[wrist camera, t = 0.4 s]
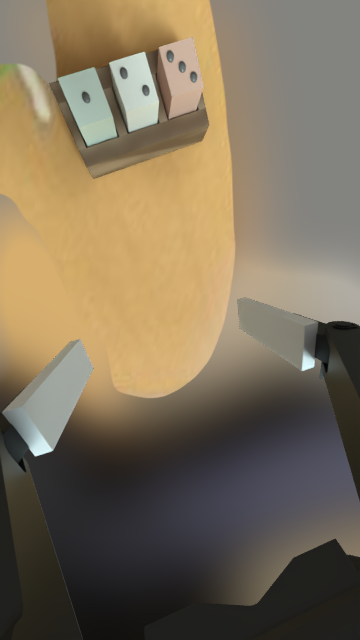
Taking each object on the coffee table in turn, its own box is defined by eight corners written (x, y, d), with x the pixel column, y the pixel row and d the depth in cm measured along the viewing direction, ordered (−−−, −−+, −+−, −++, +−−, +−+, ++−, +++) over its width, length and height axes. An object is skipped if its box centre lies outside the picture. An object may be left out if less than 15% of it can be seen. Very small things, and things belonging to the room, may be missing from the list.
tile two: (115, 97, 27) (108, 60, 22) (144, 88, 27) (144, 49, 22) (129, 137, 29) (125, 110, 24) (156, 128, 29) (159, 100, 24)
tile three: (156, 84, 27) (158, 45, 22) (185, 75, 28) (193, 34, 23) (167, 124, 29) (172, 95, 24) (194, 115, 29) (204, 85, 24)
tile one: (73, 111, 26) (56, 76, 22) (103, 101, 27) (93, 65, 22) (89, 150, 28) (78, 126, 23) (118, 141, 28) (112, 115, 24)
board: (62, 108, 28) (49, 83, 24) (185, 68, 29) (190, 40, 25) (93, 178, 31) (86, 166, 28) (202, 140, 33) (209, 124, 29)
